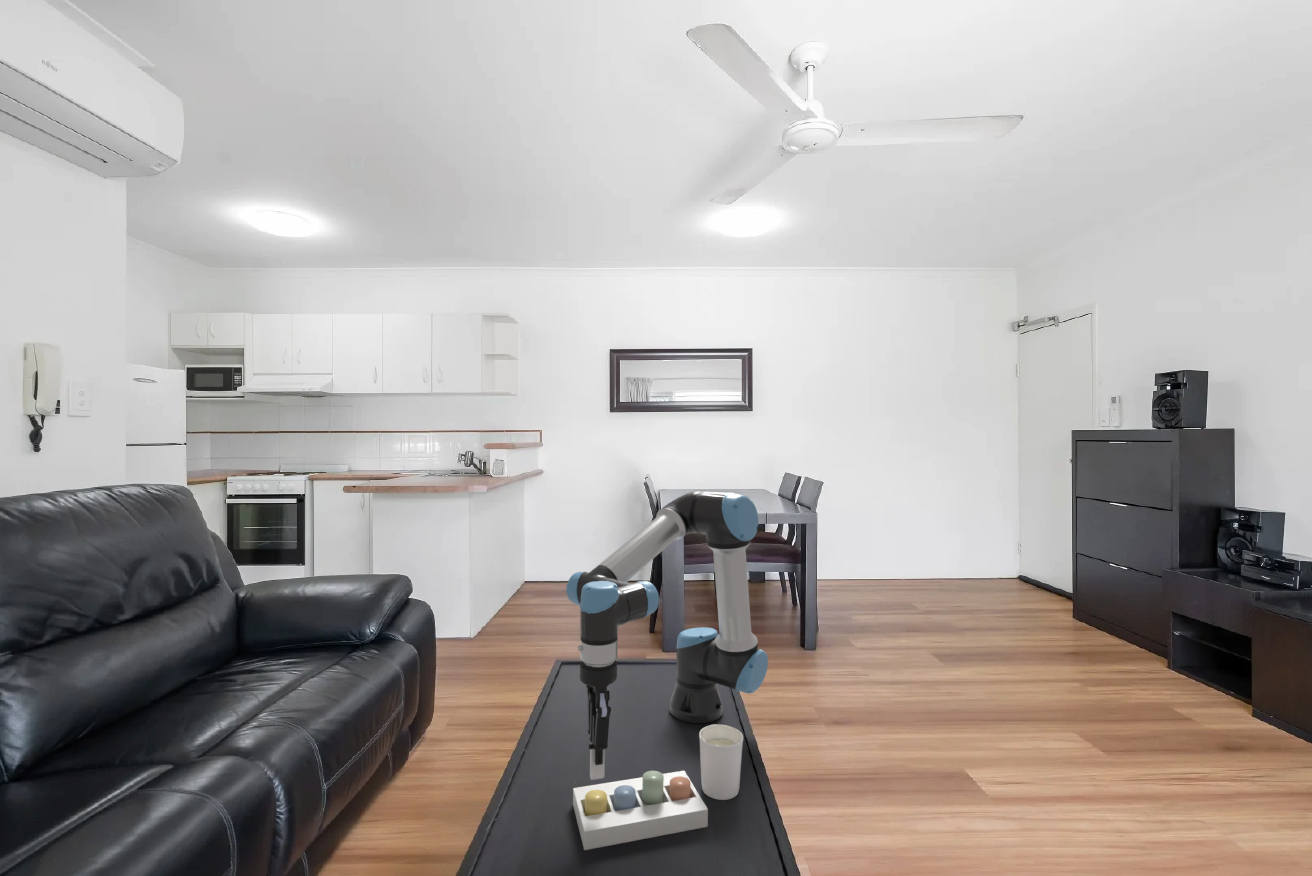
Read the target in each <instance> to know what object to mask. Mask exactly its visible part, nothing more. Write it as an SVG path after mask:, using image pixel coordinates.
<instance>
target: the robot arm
mask: <svg viewBox="0 0 1312 876" xmlns="http://www.w3.org/2000/svg"><path fill="white" fill-rule="evenodd" d="M758 514H759V513H758V510H757V507H756V505H755V503H754V501H752V499H750V498H749V497H748V496H746V495H743V494H738V493H734V492H723V491H722V492H720V491H706V490H696V491H695V490H694V491H690V492H688V493H686V494H682V495H681V496H678V497H677V498H675V499H673V500H672V501H670V502H668V503H667V504H666V505H664V506H663V507H662V508H661V509H660V510H658V511H657V512H656V515H655V518H654V519H653V520H652V521H650V522H649V523H648V524H647V525H646V526H644V528H642V529H641V530H639V531H638V532H637V533H636V534H635V535H633V536H632V537H630V538H629V539H628V540H627V541H626V542H625V543H623V544H622V545H621V546H620V547H619V548H618V549H616V550H615V551H614V552H613V553H611V554H610V555H609V556H608V557H605V559H604V560H602V561H601V562H600V563H599V564H598V565H597V566H596V567H594V568H593V569H592V570H590V571H589V572H587V571H577V572H575V573H573V574H572V575H571V576H570V578H569V579H568V581H567V584H566V589H565V590H566V591H565V593H566V596H567V598H568V600H569V601H570V602H571V603H573V604H574V605H577V606H579V608H580V611H579V612H580V619H579V620H580V621H579V622H580V623H579V625H580V626H579V627H580V632H579V633H580V637H579V638H580V644H579V645H577V651H578V652H579V651H580V652H579V654H580V655H579V656H580V657H579V658H580V659H579V660H581V661H580V662H579V680H580V681H581V683H582V684H583V685H586V686H585V687H586V694H587V724H588V725H587V726H588V727H587V729H588V730H587V734H588V735H589V741H590V743H589V744H588V750H589V779H590V781H594V780H600V779H604V778H605V772H606V771H605V765H606V764H605V762H606V760H605V758H606V755H605V754H606V750H607V749H608V746H609V745H608V742H609V730H610V718H611V717H610V716H611V712H612V708H611V706H609V701H610V699H611V698H610V697H611V696H610V690H608V686H610V685H611V684H613V683H614V682H616V680H617V678H618V660H617V659H618V649H619V648H618V646H619V644H618V641H619V638H618V636H619V635H618V633H619V632H618V631H619V630H618V629H619V628H618V627H619V626H622V625H625V624H627V623H631V622H634V621H638V620H640V619H644V618H646V617H648V616H650V615H651V614H654V613H655V612H656V611H657V609H658V607H659V603H660V597H659V592H658V590H657V588H656V586H655V585H654V584H653V583H652V582H650V581H648V580H641V581H640V580H638V581H635V582H629V581H630V580H631V579H632V578H634V576H635V575H637V574H638V573H639V572H640V571H642V570H643V568H644V567H646V566H647V565H648V564H649V563H650V562H651V561H653V560H654V558H656V557H657V556H658V555H659V554H660V553H661V552H663V551H664V550H665V549H666V548H667V547H668V546H669V545H671V544H672V543H673V542H674V541H680V540H682V539H683V538H684V537H685V536H686V535H689V534H699V535H703V536H704V535H705V539H706V540H705V541H706V546H707V547H708V548H709V549H710V550H711V551H712V552H713V553H712V554H713V564H714V565H713V566H714V567H713V568H714V577H715V580H714V581H715V590H716V591H715V593H716V601H717V602H716V603H717V605H716V606H717V618H718V629H719V633H718V630H717V629H715V628H713V627H703V626H702V627H692V628H688V629H685V630H683V631H681V632H680V633H679V634H678V636H677V640H676V641H677V643H676V679H675V680H676V682H675V686H674V689H673V692H672V695H671V698H670V700H669V712H670V713H671V716H673V717H674V718H675V719H677V720H680V721H683V722H686V723H691V724H706V723H707V724H708V723H712V722H714V721H717V720H719V719H720V718H721V717H722V716H723V702H722V699H721V698H722V697H721V695H720V692H719V688H718V685H721V686H724V687H727V688H729V689H733V690H735V691H736V692H738V693H739V692H741V693H745V694H753V693H755V692H756V691H757V690H759V688H760V687H761V686H762V684H763V682H764V680H765V678H766V675H767V671H768V666H769V657H768V654H767V652H766V651H765V650H763V649H759V641H758V637H757V636H756V634H754V633H753V632H752V624H751V622H752V621H751V620H752V619H751V609H750V608H751V607H750V592H749V581H748V579H749V578H748V568H747V567H748V565H747V554H746V552H747V551H746V550H747V548H748V547H749V546H750V545H751V543H752V542H751V541H752V540H753V538H754V537H755V536H756V534H757V532H758V527H759V515H758ZM720 716H721V717H720Z"/></svg>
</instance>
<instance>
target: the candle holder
mask: <svg viewBox="0 0 1312 876" xmlns="http://www.w3.org/2000/svg"><path fill="white" fill-rule="evenodd" d="M698 737H699V738H698V739H699V754H700V755H699V757H700V759H699V762H700V778H701V779H700V780H701V781H700V782H701V790H702V791H703V793H704V794H705V795H706V796H707V797H709V798H710V799H711V798H712V799H715V800H718V801H726V800H727V801H728V800H731V799H734V798H735V797H736V796H737V795H738V793H739V791H740V783H741V772H742V771H741V769H742V758H743V757H742V755H743V742H744V735H743V733H742V732H741V731H740V730H739V729H737V728H736V727H733V726H732V725H726V724H719V723H718V724H710V725H707V726H706V725H705V727H703V728H701V729H700V730H699V733H698Z"/></svg>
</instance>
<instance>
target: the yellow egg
mask: <svg viewBox="0 0 1312 876" xmlns="http://www.w3.org/2000/svg"><path fill="white" fill-rule="evenodd" d="M602 813H607V794H606V793H605V792H604V791H602V790H592V791H589V792H588V793H587V794H586V795H585V816H591V815H596V814H602Z"/></svg>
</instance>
